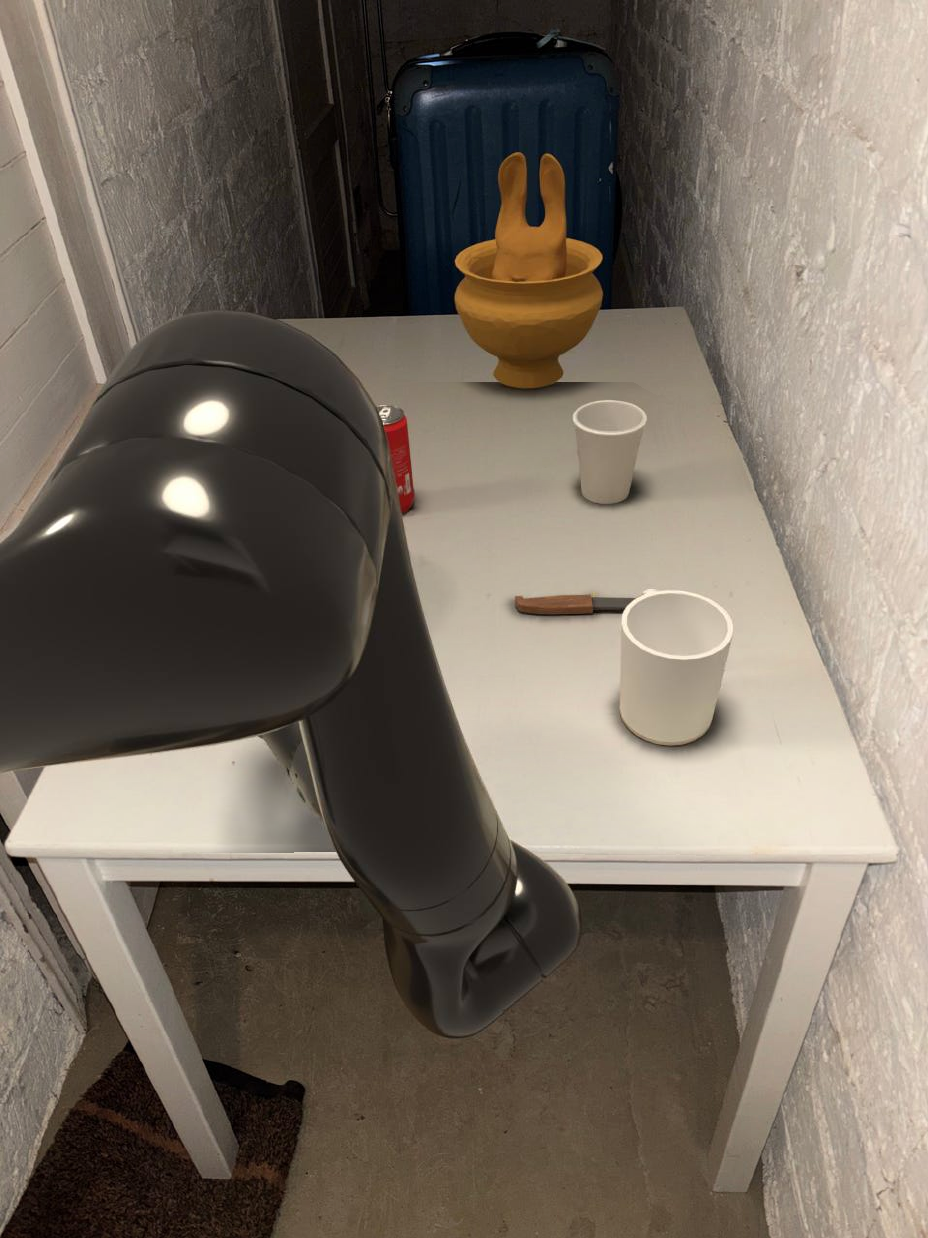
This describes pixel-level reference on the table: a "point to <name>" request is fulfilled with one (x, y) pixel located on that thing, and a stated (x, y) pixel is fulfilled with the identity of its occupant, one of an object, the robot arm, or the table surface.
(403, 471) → the beverage can
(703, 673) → the mug
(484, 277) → the decorative bowl
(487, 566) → the table surface
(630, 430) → the dixie cup
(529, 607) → the knife
